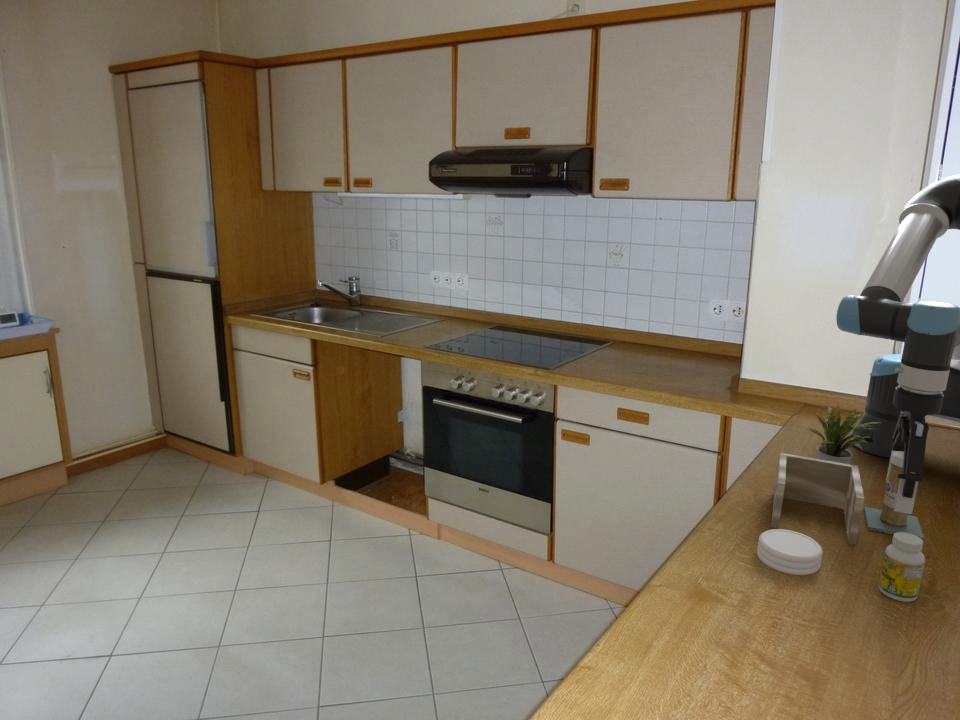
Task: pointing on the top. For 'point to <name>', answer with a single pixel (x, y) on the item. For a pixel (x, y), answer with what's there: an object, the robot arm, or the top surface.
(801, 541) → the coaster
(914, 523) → the felt mat
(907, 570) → the supplement bottle
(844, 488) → the birch box
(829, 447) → the house plant
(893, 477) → the sprinkles bottle
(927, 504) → the top surface
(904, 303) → the robot arm
